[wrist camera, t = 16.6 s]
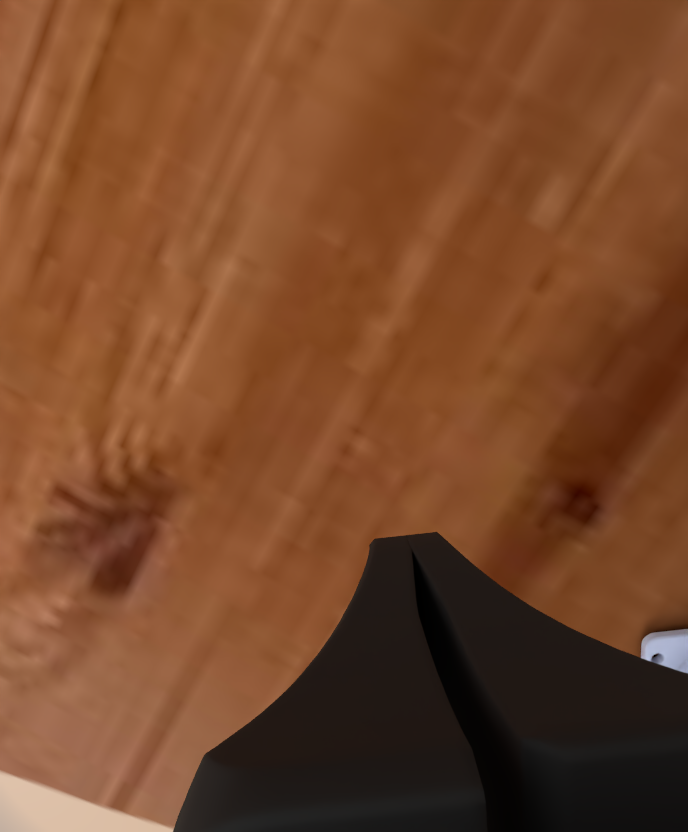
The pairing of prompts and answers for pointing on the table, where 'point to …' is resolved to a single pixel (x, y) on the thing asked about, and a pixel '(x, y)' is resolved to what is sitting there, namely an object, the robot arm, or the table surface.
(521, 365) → the table surface
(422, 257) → the table surface
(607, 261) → the table surface
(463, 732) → the robot arm
